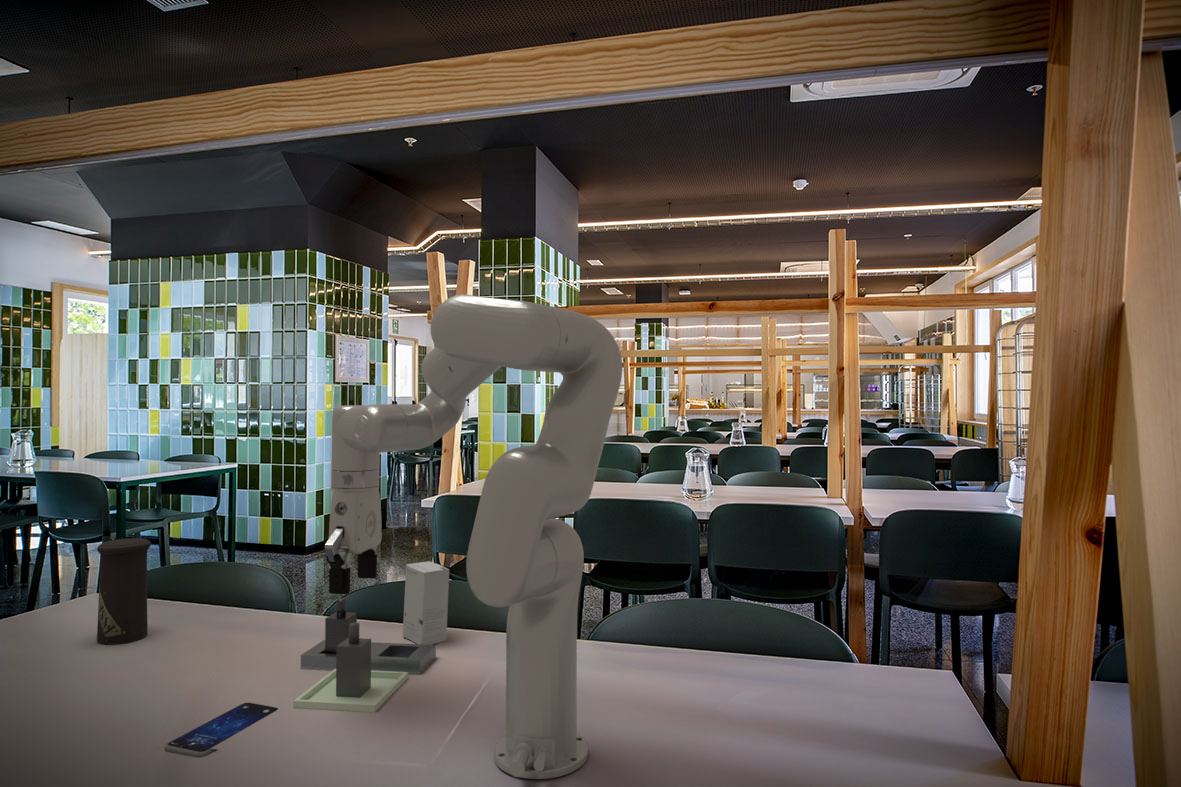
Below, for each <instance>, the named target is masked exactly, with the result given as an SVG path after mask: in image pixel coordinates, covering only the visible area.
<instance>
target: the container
mask: <svg viewBox="0 0 1181 787" xmlns="http://www.w3.org/2000/svg"><path fill="white" fill-rule="evenodd" d="M151 546H152V542H151V541H150V540H148V539H147V538H142V537H141V538H140V537H134V538H133V537H132V538H118V539H111V540H106V541H104V542H102V543H100V544H99V545H98V546H97V549H96V550H97V552H98V553H99V555H100V557H99V558H100V562H99V563H100V564H99V582H98V584H99V586H98V606H97V608H98V610H97V628H96V630H97V632H96V641H97V643H98V644H102V645H120V644H126V643H131V642H135V641H138V640H141V639H143V638H145V637H146V636H147V635H148V550H149V549H150V547H151Z"/></svg>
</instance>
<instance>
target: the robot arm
mask: <svg viewBox="0 0 1181 787" xmlns="http://www.w3.org/2000/svg"><path fill="white" fill-rule="evenodd" d="M429 327H430V337H431V339H432V342H433V344H434V347H433V349H432V350H430V351H429V352H428V353H427V354H426V355H425V356H424V358H423V359H422V362H421V373H422V377H423V379H424V382H425V383H426V385H427V386H428V387H429V389H430V390H431V391H430V393H428V394H427V395H426V396H425V397H424V398H423V399H421V400H420V401H419V402H417V403H416V404H411V403H410V404H409V403H404V404H403V403H402V404H401V403H396V404H395V403H390V404H387V403H386V404H383V403H381V404H379V403H377V404H375V403H374V404H368V405H362V404H361V405H360V404H359V405H358V404H355V405H354V404H353V405H347V404H346V405H339V406H336V407H335V408H334V409H333V410H332V415H331V449H330V450H331V452H330V454H331V455H330V456H331V458H330V459H331V460H330V461H331V462H330V464H331V465H330V469H331V470H330V491H331V492H332V496H331V502H330V512H329V513H330V514H329V521H328V522H329V523H328V524H329V526H328V540H326V542H325V544H324V550H325V555H326V556H325V558H326V561H327V568H328V570H329V571H328V573H329V574H328V577H329V578H328V592H329V593H330V594H331V595H333V594H334V595H349V594H350V592H351V567H349V564H350V561H351V557H352V555H353V554H354V555H357V578H358V579H372V580H373V579H376V578H377V577H378V576H377V575H378V574H377V573H378V569H377V568H378V553H379V548H378V545H379V544H380V543H381V541H382V538H383V537H382V536H383V532H382V530H383V529H382V526H383V524H382V505H381V496H380V462H381V461H380V460H381V459H380V458H381V456H380V455H381V454H380V453H391V452H392V453H393V452H400V451H416V450H417V451H418V450H422V449H424V448H428V447H429V446H431V445H433V444H434V443H436V442H438V441H439V440H440V439H441V438H442V437H444V436H445V435H446V434H447V433H448V432H449V431H451V430H452V429H453V428H454V427H456V425H457V424H458V422H459V421H460V419H461V417H462V416H463V412H464V410H465V407H466V402H467V396H469V395H470V394H471V393H472V392H474V391H475V390H476V389H477V388H478V387H479V386H480V385H482V384H483V383H485V381H486V380H487V379H489V378H490V377H491V376H492V375H494V374H495V373H496V372H497V371H498V370H499V369H501V368H502V367H503V368H508V369H514V370H519V371H520V370H521V371H529V372H532V371H533V372H543V373H559V374H560V375H561V376H562V380H561V382H560V384H559V386H558V387H557V388H556V390H555V391H554V393H553V394H552V396H551V398H550V400H549V401H548V404H547V407H546V409H545V412H544V416H543V422H542V425H541V429H540V432H539V436H538V438H537V441H536V442H535V444H534V445H523V446H518V447H514V448H512V449H509V450H508V451H505V452H504V453H502V454H501V455H499V457H498V458H497V459H496V460H495V461H494V463H493V464H492V465H491V467H490V469H489V470H488V473H487V475H486V476H485V479H484V483H483V485H482V490H481V493H480V498H479V502H478V507H477V510H476V514H475V519H474V523H473V528H472V530H471V534H470V535H471V536H470V540H469V544H468V547H467V548H468V549H467V553H466V554H467V555H466V567H465V568H466V570H465V571H466V577H467V582H468V585H469V588H470V589H471V591H472V593H473V595H474V596H475V597H476V598H477V599H478V600H479V601H480V602H482V603H483V604H485V605H486V606H489V607H494V608H505V607H509V608H508V614H507V618H506V632H505V633H506V634H505V635H506V639H505V643H506V644H505V667H506V668H505V735H503V736H502V737H500V739H499V740H498V741H496V744H495V746H494V749H493V759H494V762H495V765H496V766H497V767H498V768H499V769H500V770H502V771H503V772H505V773H507V774H509V775H511V776H512V777H515V778H521V779H527V780H528V779H529V780H547V779H553V778H554V779H555V778H559V777H563V776H566V775H568V774H571V773H573V772H574V771H576V770H578V769H580V768H581V767H582V766H583V765H584V764H585V762H586V761H587V760H588V756H589V745H588V742H587V740H586V739H585V737H583V736H582V735H581V734H580V733H578V732H577V730H578V729H577V726H578V725H577V721H578V720H577V710H578V707H577V702H578V701H577V699H578V698H577V694H578V693H577V692H578V691H577V684H578V683H577V680H578V679H577V678H578V677H577V676H578V675H577V673H578V672H577V668H578V667H577V659H578V657H577V656H578V652H577V650H578V648H577V646H578V645H577V644H578V643H577V642H578V607H579V597H580V590H581V589H580V588H581V582H582V578H583V571H584V564H585V562H584V561H585V560H584V559H585V558H584V555H585V554H584V553H585V552H584V547H583V544H582V540H581V538H580V535H579V534H578V533H577V531H576V530H575V529H574V527H572V525H570V524H569V523H568V522H565V521H564V520H561V519H558V518H559V517H563V516H567V515H570V514H573V513H575V512H578V511H579V510H581V509H583V507H584V506H585V505H586V503H588V502H589V499H590V497H591V495H592V491H593V487H594V484H595V481H596V480H595V479H596V476H597V472H598V468H599V466H600V464H599V463H600V460H601V457H602V452H603V449H604V445H605V442H606V438H607V437H606V436H607V432H608V427H609V425H610V420H611V416H612V413H613V410H614V407H615V404H616V402H617V398H618V395H619V394H618V393H619V391H620V388H621V387H620V386H621V383H622V377H623V376H622V375H623V359H622V354H621V351H620V348H619V345H618V342H617V341H616V339H615V338H614V336H613V334H612V333H611V332H610V330H608V329H607V327H605V325H604V324H602V323H601V322H599V321H598V320H597V319H595V318H593V317H592V316H589V315H588V314H584V313H581V312H577V311H574V310H571V309H570V310H569V309H566V308H562V307H561V308H560V307H555V306H551V305H547V304H546V305H545V304H542V303H536V302H530V301H525V300H524V301H523V300H516V299H515V300H514V299H505V298H498V297H497V298H495V297H485V296H479V295H478V296H477V295H471V294H465V293H461V294H455V295H452V296H451V297H448V298H447V299H445V300H444V301H443V302H442V303H441V304H440V305H439V306H438V307H437V308H436V309H435V312H434V313H433V315H432V318H431V321H430V326H429ZM342 556H343V558H342Z"/></svg>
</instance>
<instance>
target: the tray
mask: <svg viewBox="0 0 1181 787" xmlns="http://www.w3.org/2000/svg"><path fill="white" fill-rule="evenodd" d="M408 679H409V674H408V672H394V671H373V670H371V688H370V689H369V690H368V691H367V692H366V693H364V694H363V695H362V696H361V697H360V698H355V697H336V669H334V670H330V671H329V673H327V674H326V675H325V676H324V677H322V678H321V679H319V680H318V681H317V682H316V683H315V684H313V685H312V686H311V687H310V688H308V689H307V690H305V691H304V692H303V693H301V694H300V695H299V696H297V698H296V699H294V700H293V701H292V702H293V705H292V708H293V709H310V710H311V709H312V710H326V711H327V710H329V711H330V710H331V711H343V712H347V711H348V712H361V713H376V712H377V711H379V709H380V708H381V707H382V706H383V705H384V704H385V703H386V702H387V701H388V700H389V699H390V697H392V696H393V695H394V694H395V693H396V692H397V690H399V688H400V687H401V686H402V685H403V684H404V683H405V682H406V681H408Z"/></svg>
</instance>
